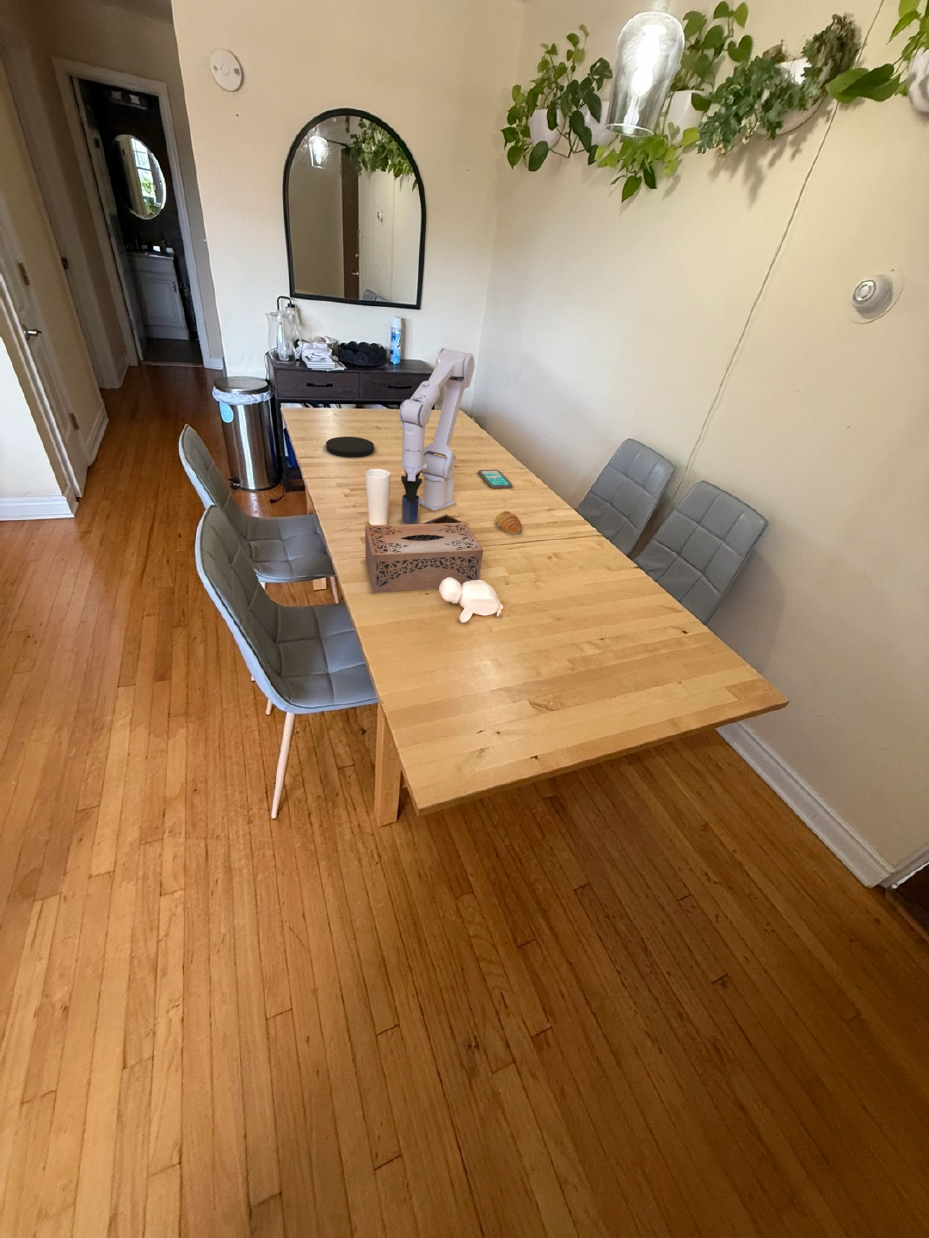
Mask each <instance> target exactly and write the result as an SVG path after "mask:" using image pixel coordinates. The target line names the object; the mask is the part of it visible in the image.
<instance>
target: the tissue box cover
mask: <svg viewBox="0 0 929 1238" xmlns="http://www.w3.org/2000/svg"><path fill="white" fill-rule="evenodd" d="M364 540H365V541H364V545H365V547H364V548H365V551H364V552H365V565H366V569H367V572H368V577H369V582H370V586H371V590H372V594H374V593H389V592H407V591H420V590H435V589H436V590H437V589H438V590H439V586H440V584H441V582H442V581H443V580H444V579H446V578H448V577H452V578H454V579H456V580H457V581H458V582H459V583H460V584H461V586H462V584H463V583H465V582H467V581H471V580H480V575H481V568H482V561H483V554H484V549H483V547H482V546H481V543H479V541H478V539H477V537H476V536H475V534H474V532H473V531H472V529H471V527H470V526H469V524H468V522H463V523H433V524H422V523H417V524H404V523H402V524H386V525H371V524H370V525H369V524H368V525H366V524H365V525H364Z"/></svg>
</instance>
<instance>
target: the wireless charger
mask: <svg viewBox="0 0 929 1238" xmlns="http://www.w3.org/2000/svg"><path fill="white" fill-rule="evenodd" d="M325 449H326V452H328V453H329V454H331V455H333V456H336V457H341V458H348V459H349V458H350V459H351V458H353V459H355V458H363V457H369V456H370V455H372V454H374V452H375V444H374V442H372V441H371V440H369V439H367V438H364V437H358V436H337V437H332V438H330V439H328V440H327V441H326V442H325Z"/></svg>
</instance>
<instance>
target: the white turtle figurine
mask: <svg viewBox="0 0 929 1238" xmlns="http://www.w3.org/2000/svg"><path fill="white" fill-rule="evenodd" d="M438 593H439V594H440V596H441V598H442V599H443V600H444V601H445V602H447V603H452V604H459V605H460V607H462V608H463V610H462V612H461V613H460V615H459V621H460V622H461V623H462V624H466V623H467V622H468V621H470V619H471V618H472V616H473V614H476V615H480V616H491V615H494V614H496V616H497V617H499V616H500V614H501V613H502V610H503V609H504V605H503V604H502V603H501V601H500V599H499V597H498V594H497V592H496V590H495V589H494V588H493V586H491V585H490V584H489V583H487V582H486V581H485V580H484V579H479V580H471V581H467V582H465V583H463V584H462V586H461V584H460V583H459V582H458V581H457V580H456V579H454V578H452V577H448V578H446V579H444V580H443V581H442V582H441V584H440V586H439V588H438Z"/></svg>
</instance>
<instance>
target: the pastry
mask: <svg viewBox="0 0 929 1238" xmlns="http://www.w3.org/2000/svg"><path fill="white" fill-rule="evenodd" d="M495 523H496V525H497V527H498V528H500V529H502V530H503V531H505V532H507V533H509V534H510V535H515V534H516V535H517V534H520V533H521V532H522V531H523V527H522V523H521V520H520V518H519V517H518V516H517V515H516V514H515V513H512V512H511V511H508V510H504V511H501V512H500V513H499V514H497V516H496V517H495Z"/></svg>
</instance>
